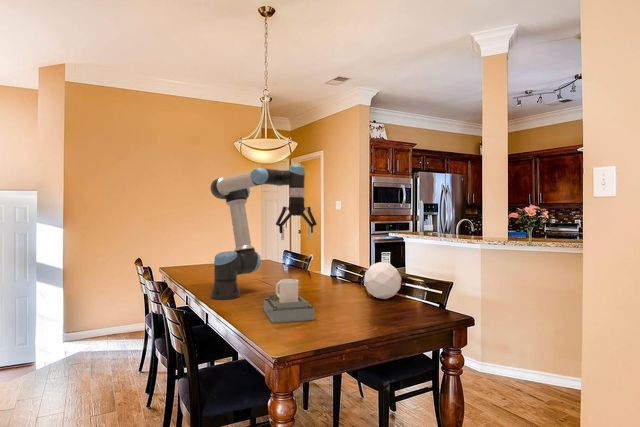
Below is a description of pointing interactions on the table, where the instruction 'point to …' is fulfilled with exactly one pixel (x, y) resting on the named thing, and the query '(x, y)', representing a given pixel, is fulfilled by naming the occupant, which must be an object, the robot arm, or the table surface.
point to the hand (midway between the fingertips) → (296, 239)
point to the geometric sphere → (382, 280)
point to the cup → (287, 290)
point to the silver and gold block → (288, 310)
